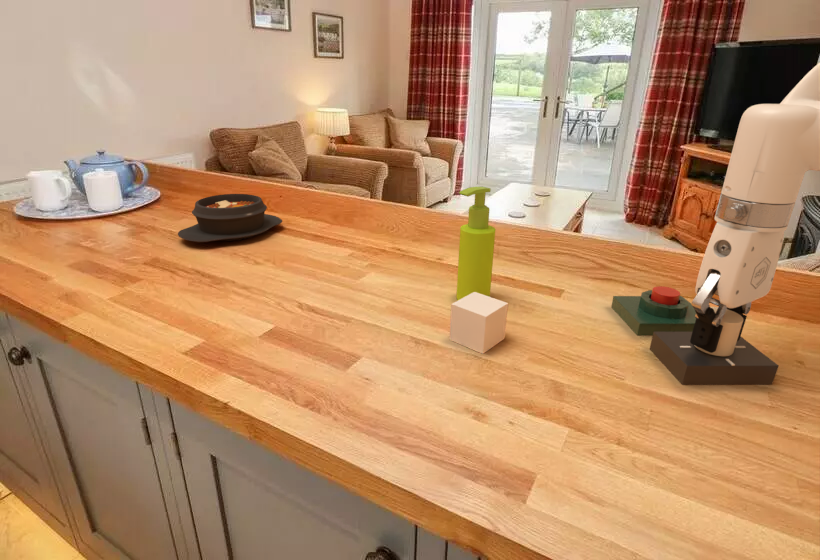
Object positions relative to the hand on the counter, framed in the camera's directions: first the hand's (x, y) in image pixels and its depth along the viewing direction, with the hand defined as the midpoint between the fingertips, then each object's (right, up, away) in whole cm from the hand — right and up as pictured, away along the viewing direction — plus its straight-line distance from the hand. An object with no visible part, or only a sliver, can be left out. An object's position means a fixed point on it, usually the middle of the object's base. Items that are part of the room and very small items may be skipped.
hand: (714, 341), depth 67 cm
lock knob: (0, -1, 0) cm, 1 cm away
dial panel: (0, -4, +2) cm, 4 cm away
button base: (0, +2, +14) cm, 14 cm away
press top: (0, +5, +13) cm, 14 cm away
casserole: (-84, +19, +53) cm, 102 cm away
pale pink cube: (-31, -1, +8) cm, 32 cm away
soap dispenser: (-31, +5, +21) cm, 37 cm away
